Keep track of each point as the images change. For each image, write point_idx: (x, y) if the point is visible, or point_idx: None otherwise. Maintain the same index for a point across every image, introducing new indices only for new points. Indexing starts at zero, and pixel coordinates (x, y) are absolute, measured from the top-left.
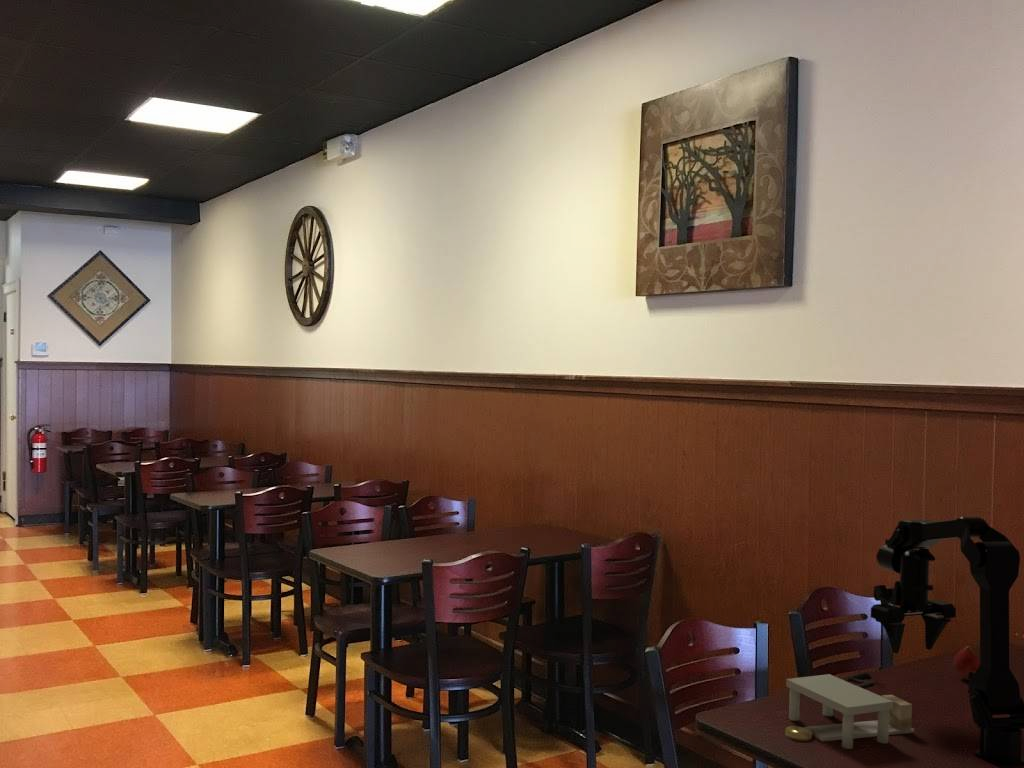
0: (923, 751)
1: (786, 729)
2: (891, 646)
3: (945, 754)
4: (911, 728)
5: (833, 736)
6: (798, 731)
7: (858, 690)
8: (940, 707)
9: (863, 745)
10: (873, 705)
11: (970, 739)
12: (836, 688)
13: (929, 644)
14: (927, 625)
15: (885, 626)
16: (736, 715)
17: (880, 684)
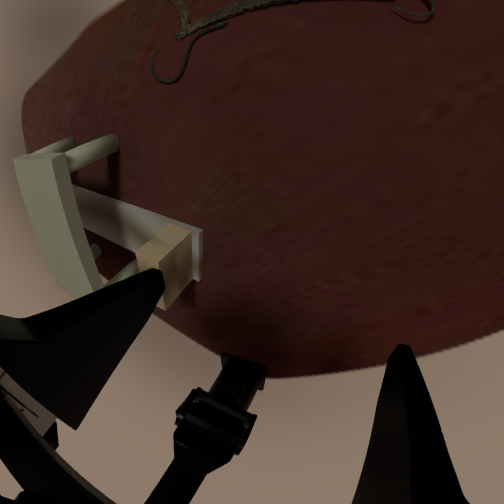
0: (170, 310)
1: None
2: (126, 280)
3: (190, 329)
4: (196, 277)
5: (87, 228)
6: None
7: (72, 260)
8: (403, 238)
9: (113, 257)
10: None
11: (269, 339)
12: (50, 232)
13: (385, 385)
14: (394, 494)
15: (23, 330)
16: (36, 110)
17: (412, 15)
